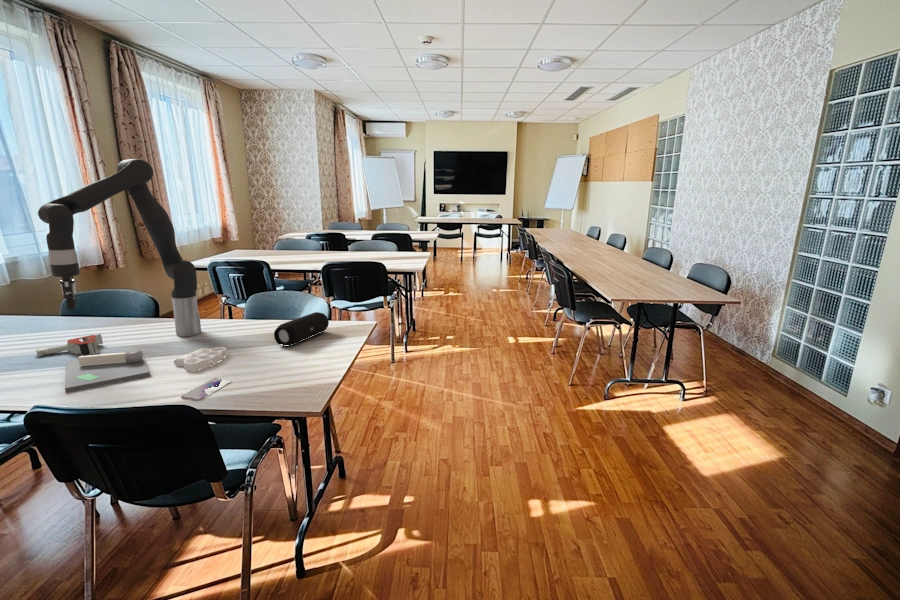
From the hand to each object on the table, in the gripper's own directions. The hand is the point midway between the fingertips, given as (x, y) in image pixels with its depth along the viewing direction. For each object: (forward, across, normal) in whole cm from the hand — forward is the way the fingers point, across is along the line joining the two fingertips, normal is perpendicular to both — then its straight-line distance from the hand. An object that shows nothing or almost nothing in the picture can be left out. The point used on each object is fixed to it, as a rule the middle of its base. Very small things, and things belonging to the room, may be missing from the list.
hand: (72, 306), depth 156 cm
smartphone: (+21, -52, -32) cm, 65 cm away
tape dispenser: (+21, +14, +2) cm, 26 cm away
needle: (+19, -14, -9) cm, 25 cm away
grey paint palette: (+21, -25, -36) cm, 48 cm away
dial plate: (+21, -16, -7) cm, 27 cm away
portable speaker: (+21, -20, -75) cm, 81 cm away
